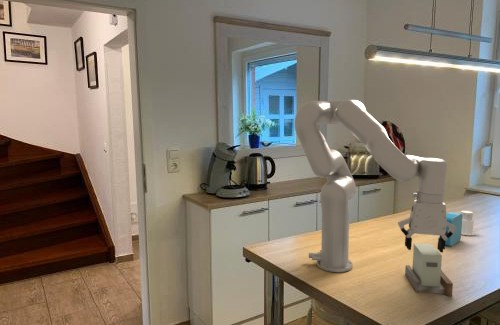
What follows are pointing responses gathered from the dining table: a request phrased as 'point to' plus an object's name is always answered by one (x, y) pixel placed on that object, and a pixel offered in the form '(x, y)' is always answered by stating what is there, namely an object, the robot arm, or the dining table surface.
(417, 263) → the slotted sage box
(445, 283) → the board
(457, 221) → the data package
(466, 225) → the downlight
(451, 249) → the dining table surface
